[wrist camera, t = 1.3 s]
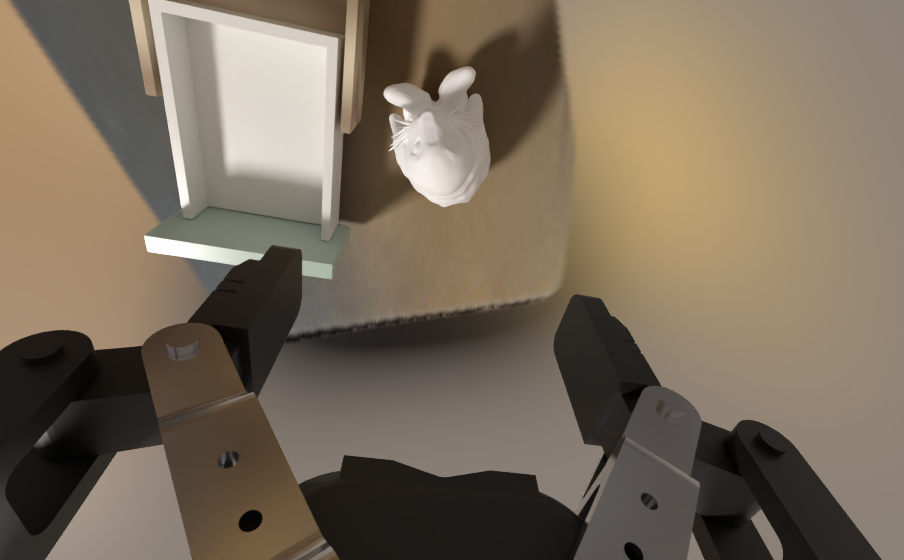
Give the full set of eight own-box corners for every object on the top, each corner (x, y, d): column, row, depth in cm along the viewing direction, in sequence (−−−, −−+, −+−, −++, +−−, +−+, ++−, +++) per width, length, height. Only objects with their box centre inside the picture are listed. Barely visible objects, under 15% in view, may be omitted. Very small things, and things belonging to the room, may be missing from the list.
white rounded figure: (416, 194, 33) (405, 271, 23) (385, 81, 29) (354, 115, 19) (493, 177, 33) (516, 249, 23) (473, 59, 28) (490, 82, 18)
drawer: (348, 239, 34) (331, 279, 29) (195, 214, 33) (147, 251, 27) (363, 39, 26) (343, 44, 21) (163, -5, 25) (89, -11, 20)
